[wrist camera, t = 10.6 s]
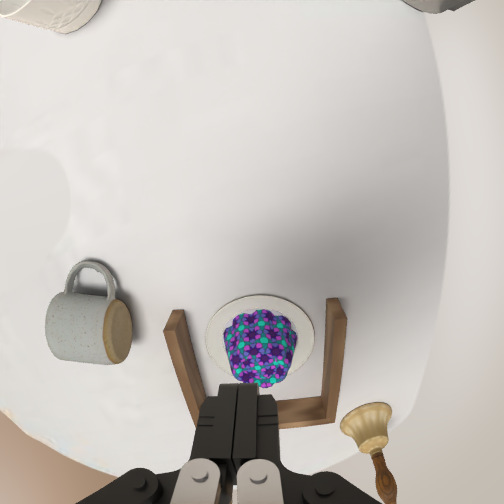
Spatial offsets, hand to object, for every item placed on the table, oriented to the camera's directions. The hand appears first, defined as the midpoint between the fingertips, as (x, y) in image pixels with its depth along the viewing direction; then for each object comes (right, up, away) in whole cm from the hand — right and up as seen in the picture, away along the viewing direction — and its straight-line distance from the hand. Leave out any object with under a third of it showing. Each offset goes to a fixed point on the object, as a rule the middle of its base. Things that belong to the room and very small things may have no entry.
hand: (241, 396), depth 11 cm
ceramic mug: (-17, 0, +20) cm, 27 cm away
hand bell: (+18, -19, +27) cm, 37 cm away
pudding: (+1, -4, +22) cm, 22 cm away
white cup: (-19, +32, +8) cm, 38 cm away
